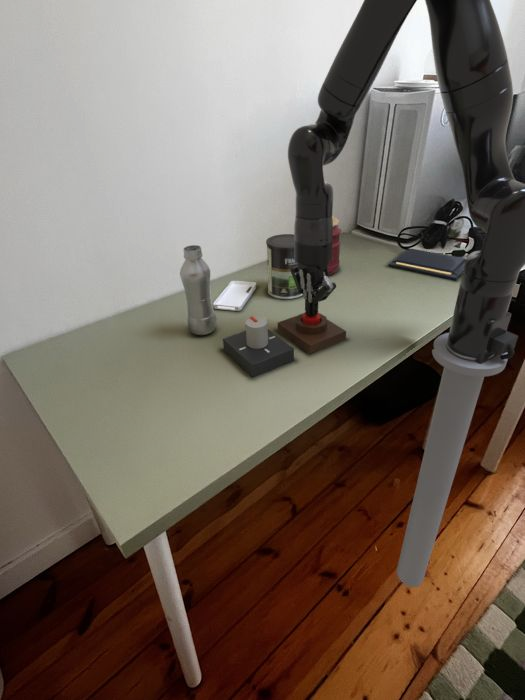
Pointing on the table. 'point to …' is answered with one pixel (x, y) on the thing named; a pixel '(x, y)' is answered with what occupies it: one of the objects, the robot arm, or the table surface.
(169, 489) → the table surface
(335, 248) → the kitchen canister
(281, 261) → the coffee can
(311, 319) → the power button
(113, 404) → the table surface
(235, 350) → the dial console
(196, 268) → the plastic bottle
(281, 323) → the power button base
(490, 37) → the robot arm
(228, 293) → the phone case
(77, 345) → the table surface
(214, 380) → the table surface
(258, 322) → the brew dial
